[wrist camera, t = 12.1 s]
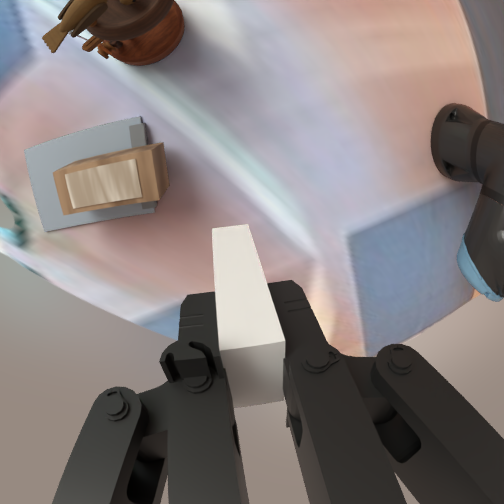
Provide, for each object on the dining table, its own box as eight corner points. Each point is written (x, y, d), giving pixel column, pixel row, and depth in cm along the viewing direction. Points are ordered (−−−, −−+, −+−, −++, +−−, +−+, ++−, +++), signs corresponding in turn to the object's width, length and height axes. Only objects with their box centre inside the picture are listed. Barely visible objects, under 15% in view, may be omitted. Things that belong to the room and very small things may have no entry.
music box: (147, 90, 31) (74, 70, 13) (91, 57, 28) (1, 31, 10) (219, 7, 27) (216, -75, 9) (159, -23, 23) (118, -98, 5)
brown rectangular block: (150, 149, 28) (51, 172, 28) (159, 200, 31) (63, 216, 31) (163, 142, 34) (73, 161, 33) (169, 185, 37) (82, 199, 36)
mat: (144, 115, 33) (142, 115, 32) (158, 210, 40) (157, 213, 39) (25, 149, 31) (21, 151, 30) (45, 230, 38) (42, 233, 37)
